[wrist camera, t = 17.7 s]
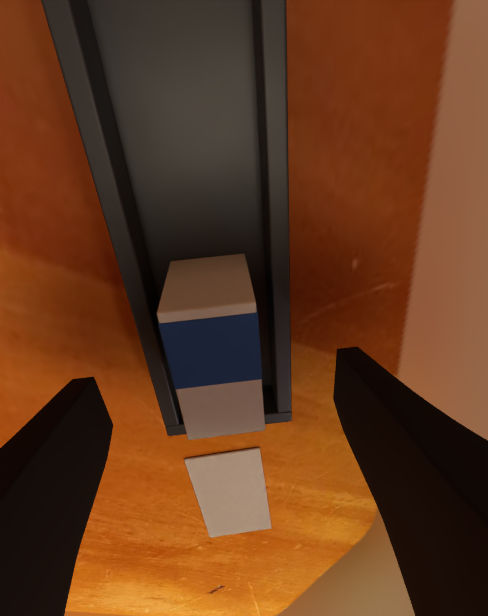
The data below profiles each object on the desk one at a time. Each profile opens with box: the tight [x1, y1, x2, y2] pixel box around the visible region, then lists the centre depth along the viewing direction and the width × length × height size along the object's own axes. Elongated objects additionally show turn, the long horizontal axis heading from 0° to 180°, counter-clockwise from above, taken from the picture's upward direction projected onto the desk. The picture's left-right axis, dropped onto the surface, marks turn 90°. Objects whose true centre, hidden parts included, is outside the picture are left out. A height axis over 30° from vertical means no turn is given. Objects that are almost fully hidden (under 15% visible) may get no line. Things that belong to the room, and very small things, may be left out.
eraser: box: [157, 254, 265, 440], centre depth 12 cm, size 5×3×4 cm, turn 5°
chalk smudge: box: [184, 447, 271, 537], centre depth 20 cm, size 8×4×1 cm, turn 7°
